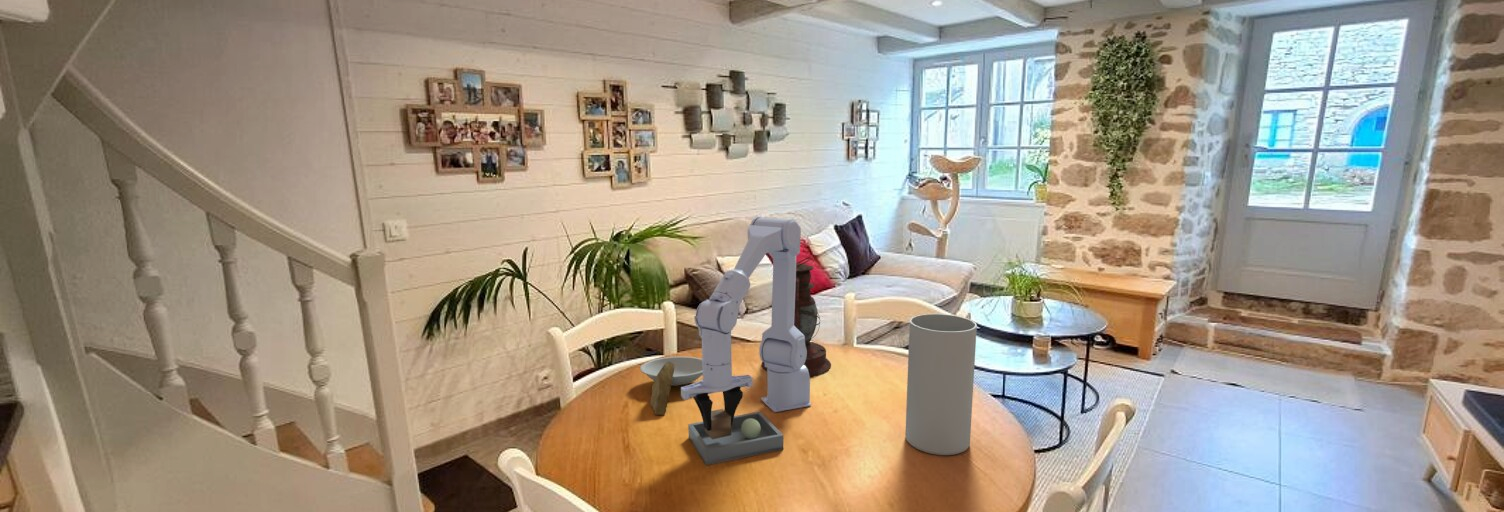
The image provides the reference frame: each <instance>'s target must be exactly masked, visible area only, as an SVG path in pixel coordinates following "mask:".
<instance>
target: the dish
mask: <svg viewBox="0 0 1504 512" xmlns="http://www.w3.org/2000/svg"><path fill="white" fill-rule="evenodd" d="M667 362H671V363H672V364H674V365H675V369H674V374H673V379H672V383H671V386H673V387H678V386H681V385H687V384H689V383H692V382H694V381H696V380H698V379H699V378H701V377H703V369H702V357H701V358H700V357H694V356H682V355H681V356H667V357H660V358H655V359H652V360H648V361H645V362H644V363H643V364H641V366H640V368H639V369H640V372H641V373H643V374H645V375H646V376H647V377H648V378H649V379H650V380H653V382H654V381H655V380H656V376H657V375H658V373H659V371H660V370H661V369H662V367H663V365H664V364H666V363H667Z"/></svg>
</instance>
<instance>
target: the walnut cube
mask: <svg viewBox="0 0 1504 512" xmlns="http://www.w3.org/2000/svg"><path fill="white" fill-rule="evenodd" d="M705 432H706V433H707V434H708V435H709V436H710V437H711V438H712V440H713V439H717V438H721V437H726V436H730V435H731V416H730V415H729V414H728V413H727V412H726V411H725V410H724V408H720V409H715V410H711V430H710V431H707V430H706V428H705Z"/></svg>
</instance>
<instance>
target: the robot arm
mask: <svg viewBox="0 0 1504 512" xmlns="http://www.w3.org/2000/svg"><path fill="white" fill-rule="evenodd" d="M801 235H802V231H801V226H800V225H799V224H798V222H797V221H796V219H794V218H773V217H763V216H756V217H754V218H753V219H752V220H751V222H750V224H749V226H748V228H747V240H748V241H747V242H746V244H745V246H744V247H743V251H742V252H741V254H740V257H739V258H738V260H737V262H736V264H735V267H734V268H733V269H730V270H727V271H725V273H724V274H723V276H722V278H720V281H719V282H718V283H717V286H716V287H715V288H714V290H713V291H712V294H711V295H710V297H709V299H705V300H704V301H702V302H701V303H699V305H698V306H697V308H696V310H695V311H696V312H695V316H694V324H695V325H696V327H697V328H698V336H699V337H700V338H701V359H702V369H703V375H702V380H700V381H696V382H694V383H691V384H689V385H684V386H681V387H680V397H681V398H682V400H684V401H688V400H690V398H693V400H694V402H695V403H696V405H697V408H698V410H699V412H700V414H701V415H700V416H701V419H702V422H703V423H704V427H705V428H706V430H707V431H710V430H711V411H712V409H713V403H714V402H713V400H712V399H711V396H710V395H709V394H715V393H722V396H723V403H724V404H723V405H724V407H723V409H724V410H725V411H726V412H727V413H728V414H729V415H730V416H731V426H732V423H733V418H734V416H736V415H735V414H736V411H737V408H738V406H739V404H740V402H741V401H742V400H743V396H744V392H743V390H741V388H745V387H747V388H752V387H753V386H754V384H753V383H754V382H753V381H754V380H753V377H752V376H751V375H750V374H744V375H733V372H732V371H733V370H732V369H733V367H732V366H733V364H732V363H733V359H732V330H734V328H735V327H736V325H737V323H738V315H739V312H740V307H739V306H740V305H741V303H742V302H743V300H744V298H745V297H746V295H747V293H748V292H749V289H750V288H751V282H750V279H749V278H750V277H751V276H752V274H753V273H754V271H755V270H756V268H758V266H759V265H760V263H761V262H762V260H763V259H764V258H765V256H766V255H767V254H769V256H770V257H771V259H772V260H773V261H772V288H771V289H772V295H771V324H770V325H771V326H770V327H768V328H767V329H765V330H764V331H763V332H762V333H761V334H762V336H761V342H760V345H759V348H758V349H759V350H758V351H759V352H758V354H759V359H760V360H761V362H762V361H763V362H764V363H765V367H767V371H766V372H767V373H766V375H767V380H766V381H767V383H766V384H767V396H763V397H761V398H760V399H761V401H762V402H763V403H764V404H765V406H767V407H768V408H769V409H770V410H772V412H773V413H777V412H779V413H780V412H784V411H790V410H795V409H796V410H797V409H801V408H805V407H811V406H812V403H811V397H810V396H811V377H810V376H809V372H808V369H807V367H806V366H805V365H804V363H805V361H806V357H807V349H806V346H805V336H804V335H803V334H802V333H801V332H800V331H799V330H798V329H797V328H796V327H795V326H794V314H795V283H796V263H797V256H798V255H799V254H800V253H801V238H802V237H801Z"/></svg>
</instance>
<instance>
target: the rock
mask: <svg viewBox="0 0 1504 512" xmlns="http://www.w3.org/2000/svg"><path fill="white" fill-rule="evenodd" d="M674 369H675V365H674V364H672V363H671V362H667V363H666V364H664V365H663V367H662V369H661V370H660V371H659V373H658V375H657V376H656V380H655V381H654V380H653V383H652V386H651V396H650V401H649V403H650V406H651V408H652V410H653V411H654V412H653V413H654V414H655V415H659V416H665V415H666V412H667V408H668V403H669V399H670V392H671V391H670V390H671V389H672V388H671V387H672V385H671V383H672V379H673V374H674Z"/></svg>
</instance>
